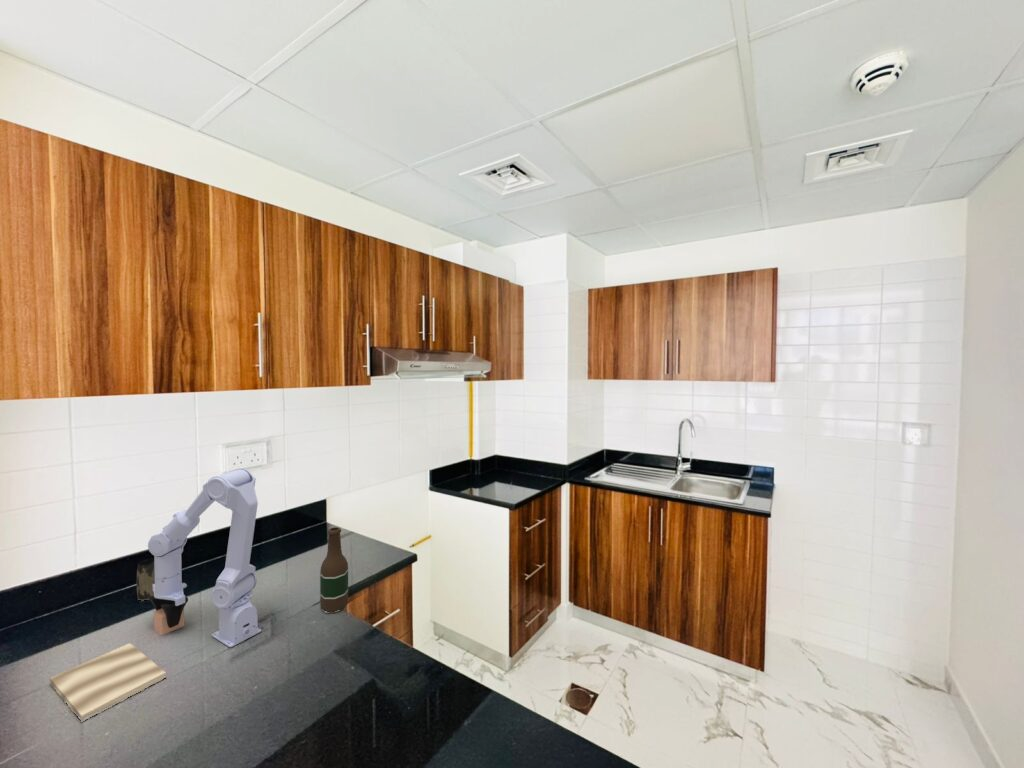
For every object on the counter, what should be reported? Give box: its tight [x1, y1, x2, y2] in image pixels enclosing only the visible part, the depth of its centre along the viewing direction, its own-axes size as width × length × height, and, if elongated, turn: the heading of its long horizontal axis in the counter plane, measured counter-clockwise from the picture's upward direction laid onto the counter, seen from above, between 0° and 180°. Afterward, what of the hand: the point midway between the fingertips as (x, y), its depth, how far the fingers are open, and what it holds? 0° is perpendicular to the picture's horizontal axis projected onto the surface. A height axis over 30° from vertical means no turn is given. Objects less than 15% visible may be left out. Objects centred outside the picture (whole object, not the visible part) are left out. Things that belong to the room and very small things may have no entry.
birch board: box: [49, 642, 167, 720], centre depth 95 cm, size 20×14×2 cm
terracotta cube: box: [153, 608, 185, 636], centre depth 115 cm, size 5×5×5 cm
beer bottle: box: [319, 526, 349, 612], centre depth 126 cm, size 8×8×24 cm
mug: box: [136, 557, 155, 602], centre depth 131 cm, size 8×6×12 cm
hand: (169, 622), depth 115 cm, fingers closed on terracotta cube, 5 cm apart
